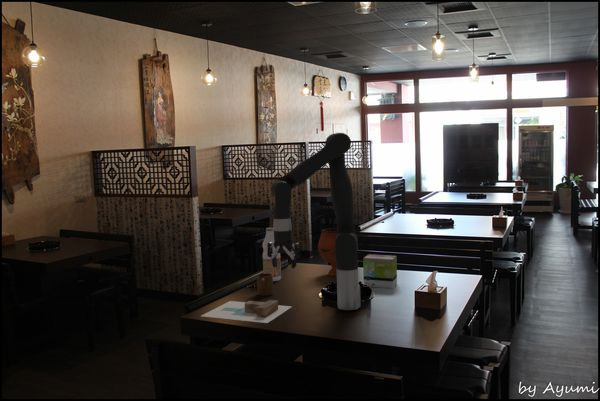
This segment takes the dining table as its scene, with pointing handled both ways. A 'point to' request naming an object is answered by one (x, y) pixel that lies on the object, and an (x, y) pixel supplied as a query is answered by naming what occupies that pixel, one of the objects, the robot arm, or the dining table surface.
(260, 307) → the t block
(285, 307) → the mat
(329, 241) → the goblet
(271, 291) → the mug
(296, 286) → the dining table surface
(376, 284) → the tea box
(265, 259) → the fruit juice
